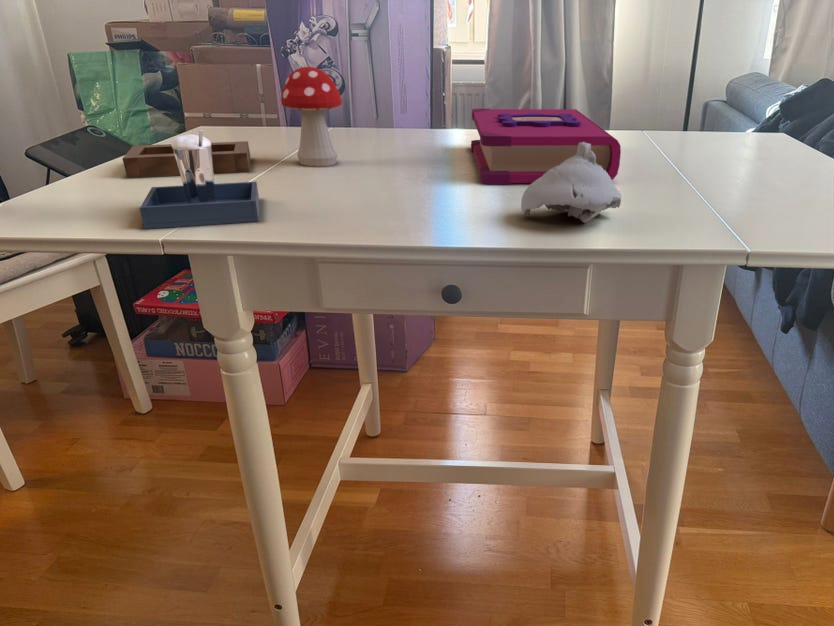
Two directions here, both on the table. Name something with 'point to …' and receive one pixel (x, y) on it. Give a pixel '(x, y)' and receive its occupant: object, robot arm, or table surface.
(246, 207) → the tray
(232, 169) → the tray
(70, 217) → the table surface
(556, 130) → the book
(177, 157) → the milkshake
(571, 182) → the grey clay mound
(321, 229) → the table surface
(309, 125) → the decorative mushroom
